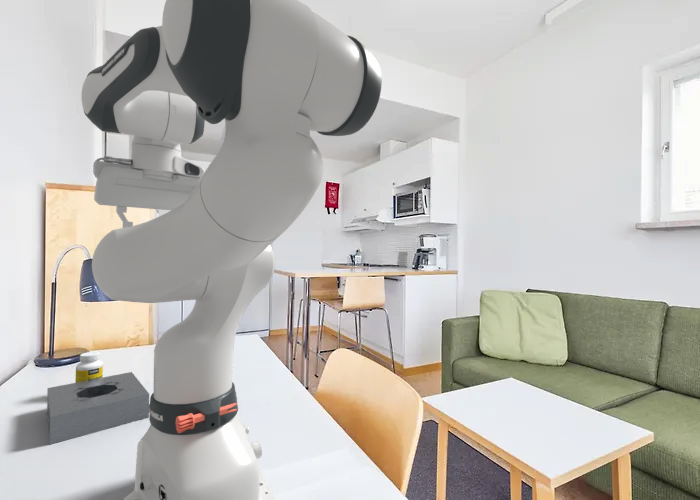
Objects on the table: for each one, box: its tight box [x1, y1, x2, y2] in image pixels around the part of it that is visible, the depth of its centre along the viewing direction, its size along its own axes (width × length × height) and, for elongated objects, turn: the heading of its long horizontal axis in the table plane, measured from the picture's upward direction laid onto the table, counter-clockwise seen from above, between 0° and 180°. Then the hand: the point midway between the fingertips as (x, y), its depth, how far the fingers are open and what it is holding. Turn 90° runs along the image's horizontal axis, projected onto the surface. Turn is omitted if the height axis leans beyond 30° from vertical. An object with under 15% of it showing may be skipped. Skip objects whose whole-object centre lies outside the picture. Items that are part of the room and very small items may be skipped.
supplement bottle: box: [74, 351, 104, 383], centre depth 87 cm, size 5×5×10 cm
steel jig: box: [46, 371, 150, 445], centre depth 76 cm, size 18×16×5 cm
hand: (154, 231), depth 72 cm, fingers open, 8 cm apart
